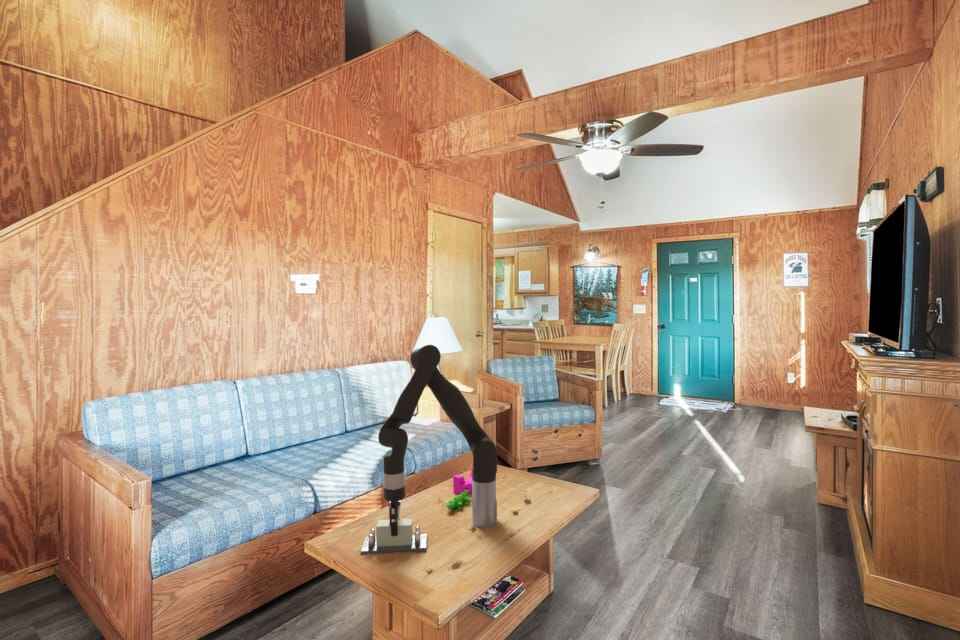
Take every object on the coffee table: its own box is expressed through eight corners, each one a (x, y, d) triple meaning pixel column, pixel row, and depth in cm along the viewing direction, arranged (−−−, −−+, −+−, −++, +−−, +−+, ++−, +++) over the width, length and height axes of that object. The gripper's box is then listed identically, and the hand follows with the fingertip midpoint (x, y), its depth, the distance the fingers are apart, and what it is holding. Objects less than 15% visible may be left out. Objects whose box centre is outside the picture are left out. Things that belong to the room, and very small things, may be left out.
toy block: (464, 496, 211) (463, 479, 211) (453, 492, 215) (453, 476, 215) (484, 485, 223) (484, 469, 223) (474, 482, 227) (474, 466, 226)
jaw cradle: (426, 537, 174) (426, 522, 174) (426, 551, 164) (425, 536, 164) (365, 540, 172) (364, 526, 172) (360, 554, 162) (360, 539, 162)
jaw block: (378, 539, 170) (378, 520, 170) (412, 537, 171) (412, 518, 171) (376, 546, 165) (376, 526, 165) (411, 545, 166) (411, 525, 166)
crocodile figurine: (440, 512, 195) (440, 501, 195) (462, 496, 211) (462, 486, 211) (454, 515, 192) (454, 504, 192) (475, 498, 208) (475, 489, 208)
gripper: (385, 477, 174) (386, 521, 174) (381, 492, 160) (382, 540, 160) (406, 476, 175) (407, 520, 175) (403, 491, 160) (405, 539, 161)
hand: (395, 529), depth 168 cm, fingers open, 8 cm apart
